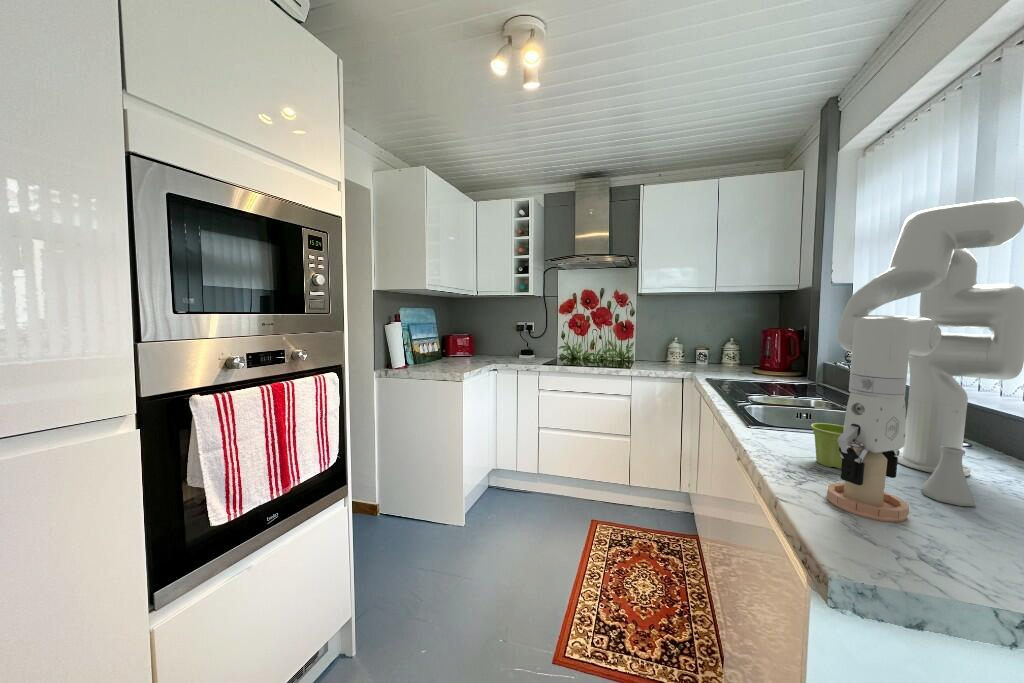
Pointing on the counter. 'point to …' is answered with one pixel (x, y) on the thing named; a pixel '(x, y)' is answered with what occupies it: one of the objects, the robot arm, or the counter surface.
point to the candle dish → (887, 512)
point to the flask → (949, 480)
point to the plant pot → (827, 444)
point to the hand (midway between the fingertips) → (868, 478)
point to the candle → (869, 481)
